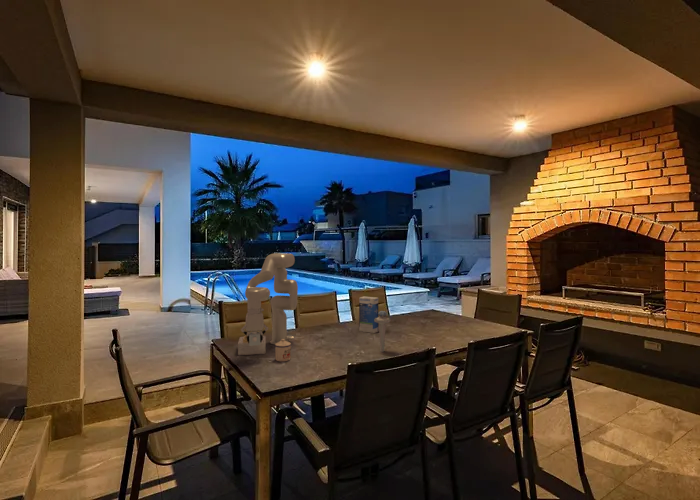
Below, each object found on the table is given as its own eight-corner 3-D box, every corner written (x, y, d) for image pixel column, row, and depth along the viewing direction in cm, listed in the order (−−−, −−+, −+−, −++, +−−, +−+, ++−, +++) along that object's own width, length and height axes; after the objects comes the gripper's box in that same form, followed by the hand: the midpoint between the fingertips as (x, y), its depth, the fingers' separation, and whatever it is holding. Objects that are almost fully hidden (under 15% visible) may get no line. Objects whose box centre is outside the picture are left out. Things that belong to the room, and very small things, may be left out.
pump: (260, 341, 222) (260, 329, 222) (260, 346, 214) (259, 333, 213) (249, 342, 221) (249, 329, 220) (249, 347, 213) (248, 333, 212)
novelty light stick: (371, 349, 240) (371, 310, 239) (385, 348, 243) (386, 309, 242) (378, 354, 230) (378, 313, 230) (392, 352, 234) (393, 312, 233)
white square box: (265, 346, 247) (265, 333, 246) (265, 353, 231) (265, 339, 231) (240, 347, 243) (239, 334, 243) (237, 355, 228) (237, 341, 227)
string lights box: (378, 331, 288) (379, 297, 288) (374, 333, 282) (374, 298, 281) (363, 329, 295) (363, 296, 295) (358, 331, 289) (358, 297, 288)
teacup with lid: (284, 362, 214) (284, 342, 214) (271, 360, 218) (271, 340, 218) (296, 357, 225) (296, 337, 224) (284, 354, 229) (284, 335, 229)
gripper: (269, 309, 223) (270, 339, 224) (239, 310, 219) (239, 341, 220) (269, 311, 215) (270, 343, 217) (238, 313, 212) (238, 345, 213)
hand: (254, 341), depth 218 cm, fingers closed on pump, 6 cm apart
